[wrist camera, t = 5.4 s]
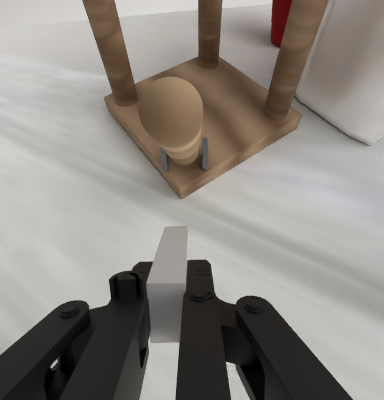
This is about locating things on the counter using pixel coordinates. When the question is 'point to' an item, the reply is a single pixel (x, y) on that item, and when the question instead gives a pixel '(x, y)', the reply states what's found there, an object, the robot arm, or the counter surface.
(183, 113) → the folding leg
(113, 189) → the counter surface
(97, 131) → the counter surface
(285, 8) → the plastic cup
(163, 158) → the hinge bracket
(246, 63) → the counter surface
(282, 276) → the counter surface
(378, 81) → the white canister
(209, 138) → the footstool
